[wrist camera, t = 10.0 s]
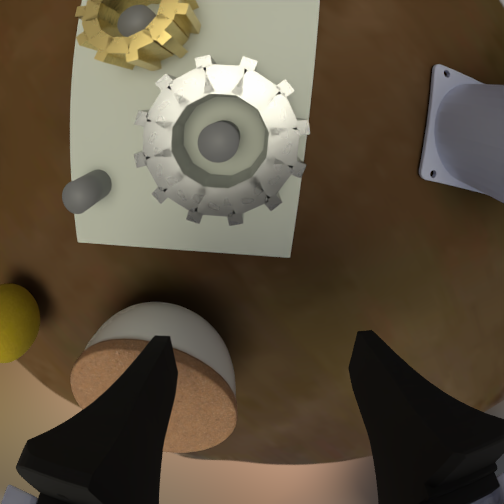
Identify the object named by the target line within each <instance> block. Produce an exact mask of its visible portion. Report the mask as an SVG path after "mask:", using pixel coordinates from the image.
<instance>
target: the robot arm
mask: <svg viewBox="0 0 504 504" xmlns="http://www.w3.org/2000/svg"><path fill="white" fill-rule="evenodd" d="M444 71H445V72H446V73H447V76H446V77H445V75H444ZM432 170H433V175H432V176H430V173H431V171H432ZM419 175H420V177H421V178H423V179H425V180H429V181H434V182H438V183H442V184H447V185H451V186H455V187H459V188H463V189H467V190H471V191H475V192H479V193H483V194H486V195H489V196H491V197H493V198H495V199H497V200H498V201H500V202H502V203H504V85H492V84H483V83H481V82H479V81H477V80H475V79H473V78H471V77H468V76H466V75H464V74H462V73H460V72H457V71H455V70H453V69H450V68H448V67H446V66H443V65H440V64H437V65H434V66H433V68H432V79H431V90H430V100H429V108H428V117H427V124H426V131H425V138H424V144H423V150H422V156H421V162H420V167H419ZM349 373H350V378H351V383H352V388H353V391H354V394H355V397H356V400H357V403H358V406H359V409H360V412H361V415H362V418H363V421H364V424H365V427H366V430H367V433H368V436H369V440H370V444H371V449H372V455H373V459H374V466H375V473H376V480H377V490H378V500H379V501H378V502H379V504H504V472H503V473H502V474H500V475H499V476H497V477H496V475H495V473H494V472H495V471H496V470H497V465H496V463H495V462H496V461H497V460H498V459H499V458H500V457H501V455H502V454H503V453H504V419H501V418H498V417H495V416H492V415H489V414H486V413H484V412H481V411H479V410H477V409H474V408H472V407H470V406H468V405H466V404H464V403H462V402H460V401H458V400H457V399H455V398H453V397H451V396H450V395H448V394H446V393H445V392H443V391H442V390H440V389H439V388H437V387H436V386H434V385H433V384H431V383H430V382H429V381H427V380H426V379H425V378H424V377H422V376H421V375H420V374H419V373H417V372H416V371H415V370H414V369H413V368H411V367H410V366H409V365H408V364H407V363H406V362H405V361H404V360H403V359H401V358H400V357H399V356H398V355H397V354H396V353H395V352H394V351H393V350H392V349H391V348H390V347H389V346H388V345H387V344H386V343H385V342H384V341H383V340H382V339H381V338H380V337H379V336H378V335H376V334H375V333H374V332H373V331H372V330H369V331H358V332H357V336H356V341H355V345H354V349H353V353H352V357H351V360H350V364H349ZM177 379H178V370H177V365H176V361H175V356H174V352H173V347H172V343H171V338H170V336H157V335H155V336H154V337H153V338H152V339H151V340H150V342H149V343H148V344H147V345H146V347H145V348H144V349H143V350H142V352H141V353H140V354H139V355H138V356H137V358H136V359H135V360H134V361H133V362H132V364H131V365H130V366H129V367H128V368H127V369H126V370H125V372H124V373H123V374H122V375H121V376H120V377H119V378H118V379H117V380H116V381H115V382H114V383H113V384H112V385H111V386H110V387H109V388H108V389H107V390H106V391H105V392H104V393H103V394H102V395H101V396H99V397H98V398H97V399H96V400H95V401H94V402H92V403H91V404H90V405H89V406H87V407H86V408H84V409H83V410H82V411H81V412H79V413H78V414H76V415H75V416H73V417H72V418H70V419H69V420H67V421H65V422H64V423H62V424H60V425H59V426H57V427H55V428H53V429H51V430H49V431H47V432H45V433H43V434H41V435H38V436H36V437H34V438H32V439H29V440H28V441H27V443H26V445H25V447H24V449H23V451H22V454H21V456H20V458H19V461H18V463H17V466H16V469H17V471H18V473H19V474H20V475H21V476H22V477H23V478H24V479H25V480H26V481H27V482H28V483H29V484H30V485H32V486H33V487H34V488H35V489H37V490H38V491H39V492H40V495H39V498H37V497H35V496H33V495H31V494H29V493H27V492H25V491H23V490H20V489H18V488H16V487H14V486H12V485H8V486H7V489H6V492H5V495H4V497H3V500H2V503H1V504H159V486H160V472H161V461H162V452H163V446H164V440H165V436H166V432H167V428H168V424H169V420H170V416H171V412H172V408H173V404H174V399H175V395H176V388H177Z"/></svg>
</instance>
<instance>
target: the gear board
mask: <svg viewBox="0 0 504 504" xmlns="http://www.w3.org/2000/svg"><path fill="white" fill-rule="evenodd" d="M196 2H197V4H198V6H199V8H197V9H195V10H193V12H194V13H195V15H196V17H197V19H198V20H199V22H200V24H201V28H200V32H199V34H193V33H190V37H189V38H188V40H187V42H186V43H185V44H184V45H183V47H184V48H185V49H186V50H187V51H188V52H187V53H186V54H185V55H184V56H183V57H182V58H179V57H178V56H176V55H175V54H173V56H171V57H169V58H166V59H164V60H162V61H161V68H162V69H159V70H155V71H150V70H147V69H144V68H142V67H139V66H136V65H135V66H134V68H133V70H130V69H127V68H123V67H120V66H116V65H112V64H108V63H104V62H101V61H99V60H96V59H94V57H95V55H96V53H97V51H96V50H93V49H90V48H86V47H83V46H79V43H78V41H77V39H76V42H75V51H74V60H73V71H72V85H71V106H70V157H71V179H72V182H70V183H68V184H67V185H66V186H65V188H64V190H63V193H62V199H63V203H64V205H65V207H66V208H67V209H68V210H69V211H70V212H72V213H74V215H75V224H76V232H77V240H78V242H82V243H95V244H108V245H122V246H135V247H148V248H162V249H175V250H189V251H203V252H216V253H230V254H244V255H258V256H272V257H286V258H290V255H291V248H292V242H293V235H294V228H295V221H296V214H297V207H298V200H299V193H300V185H301V178H302V177H301V178H299V177H296V176H293V175H290V177H289V178H288V179H287V181H286V182H285V183H284V185H283V186H282V187H281V189H280V190H279V191H278V192H279V195H280V197H281V200H282V203H281V204H280V205H279V206H277V207H276V208H275V209H273V210H272V211H270V210H269V209H268V207H267V206H266V205H265V204H263V205H261V206H258V207H256V208H254V209H252V210H249V211H247V212H245V213H244V218H243V224H238V225H233V226H229V223H228V218H227V217H225V216H211V215H203V216H202V219H201V221H200V224H198V223H195V222H192V221H188V220H186V218H187V214H188V211H189V210H187V209H185V208H184V207H182V206H181V205H179V204H177V203H176V202H174V201H173V200H171V199H170V198H167V199H166V200H165V201H164V202H163V203H161V204H160V203H159V202H158V200H157V199H156V198H155V197H154V196H153V195H152V193H153V192H154V191H155V190H156V189H157V188H158V186H157V184H156V182H155V181H154V179H153V177H152V175H151V173H150V172H149V170H148V168H147V166H143V167H139V168H137V166H136V162H135V158H134V154H135V153H137V152H140V151H142V150H143V128H144V127H143V126H139V125H135V124H134V123H135V120H136V116H137V113H138V110H150V108H151V107H152V105H153V103H154V102H155V100H156V99H157V97H158V95H159V94H160V92H161V90H160V88H159V87H158V86H157V85H156V84H155V83H156V82H157V81H158V80H159V79H160V78H161V77H162V76H163V75H165V74H166V73H167V74H169V75H172V76H174V77H176V78H178V77H180V76H182V75H184V74H186V73H188V72H189V71H191V70H193V69H195V68H197V67H196V62H195V58H197V57H201V56H206V55H211V57H212V58H213V60H214V61H215V63H216V65H235V66H239V65H240V63H241V60H242V58H243V56H244V57H247V58H250V59H253V60H256V61H258V63H257V68H256V71H255V72H257V73H259V74H260V75H262V76H263V77H265V78H266V79H268V80H269V81H271V82H272V83H274V84H275V85H276V86H277V85H278V84H279V83H281V82H282V81H283V80H286V81H287V82H288V83H289V84H290V85H291V87H292V88H293V89H294V90H295V91H294V92H293V93H291V94H290V95H289V96H287V99H288V101H289V104H290V106H291V108H292V110H293V112H294V114H295V117H296V118H302V119H308V121H309V112H310V103H311V93H312V84H313V74H314V63H315V53H316V41H317V30H318V17H319V3H320V0H196ZM86 3H87V0H82V4H81V6H86ZM159 6H160V4H150V5H148V6H144V5H134V6H131V7H129V8H127V9H126V10H125V11H124V12H123V13H122V14H121V15H120V17H119V19H118V23H117V27H118V31H119V32H120V33H121V34H122V35H123V36H125V37H129V36H131V35H133V34H135V33H137V32H139V31H141V30H144V29H145V28H146V27H147V26H148V25H149V23H150V22H151V21H152V20H153V19H154V18H155V17H156V16H157V13H158V9H159ZM83 31H84V29H83V26H82V20H81V19H79V21H78V28H77V35H76V37H77V36H78V35H79V34H81V33H82V32H83ZM264 137H265V127H264V125H263V123H262V121H261V119H260V117H259V115H258V113H257V110H256V109H254V108H253V107H251V106H250V105H248V104H247V103H245V102H244V101H242V100H241V99H239V98H235V97H217V96H216V97H214V98H212V99H210V100H208V101H206V102H204V103H202V104H200V105H198V106H196V107H195V109H194V110H193V112H192V113H191V115H190V116H189V118H188V119H187V121H186V123H185V125H184V144H183V145H184V147H185V149H186V151H187V152H188V154H189V156H190V158H191V160H192V162H193V163H194V164H195V165H197V166H199V167H200V168H202V169H203V170H205V171H206V172H208V173H210V174H216V175H231V176H232V175H234V174H236V173H238V172H240V171H242V170H245V169H247V168H249V167H251V166H252V164H253V163H254V162H255V160H256V159H257V157H258V156H259V155H260V153H261V152H262V151H263V147H264ZM306 138H307V135H301V136H300V138H299V146H298V155H297V156H298V157H299V158H300V159H301V160H302V161H303V162H304V154H305V146H306Z"/></svg>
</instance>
